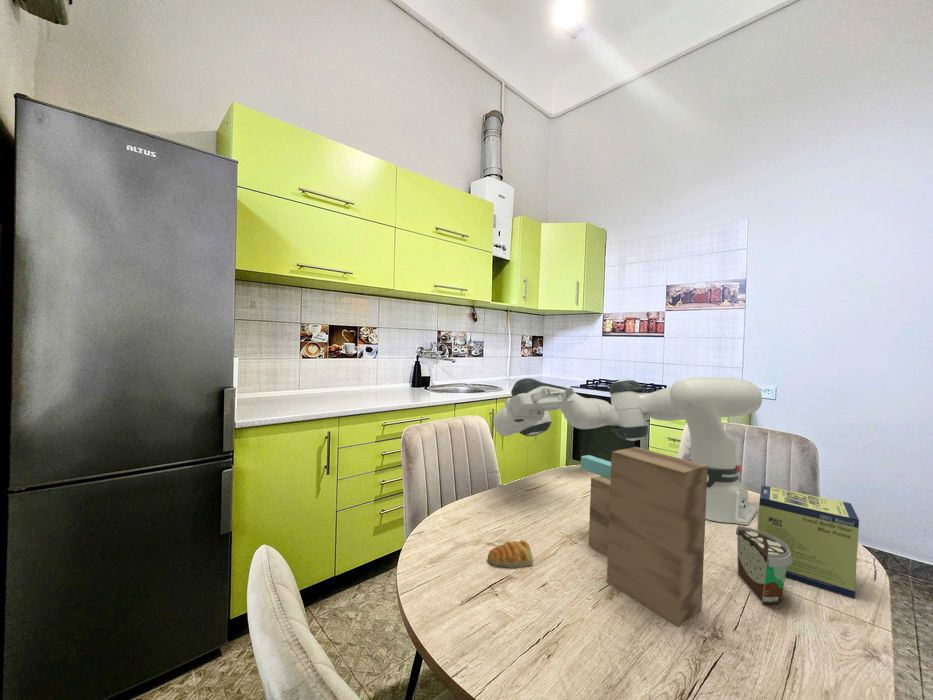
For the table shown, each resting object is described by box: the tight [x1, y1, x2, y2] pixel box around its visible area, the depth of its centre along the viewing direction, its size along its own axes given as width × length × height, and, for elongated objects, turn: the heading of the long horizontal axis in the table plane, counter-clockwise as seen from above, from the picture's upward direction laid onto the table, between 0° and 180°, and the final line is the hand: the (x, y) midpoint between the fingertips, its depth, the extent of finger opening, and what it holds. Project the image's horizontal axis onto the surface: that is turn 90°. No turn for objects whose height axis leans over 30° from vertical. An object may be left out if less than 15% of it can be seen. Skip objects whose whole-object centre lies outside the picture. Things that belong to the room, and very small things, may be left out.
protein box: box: [756, 485, 860, 599], centre depth 82 cm, size 10×16×16 cm
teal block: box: [580, 454, 611, 479], centre depth 89 cm, size 3×20×3 cm, turn 33°
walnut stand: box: [588, 446, 707, 627], centre depth 80 cm, size 18×25×26 cm
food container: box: [735, 525, 792, 607], centre depth 75 cm, size 12×6×10 cm, turn 168°
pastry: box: [487, 539, 534, 569], centre depth 83 cm, size 9×7×4 cm
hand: (560, 390), depth 105 cm, fingers open, 8 cm apart
